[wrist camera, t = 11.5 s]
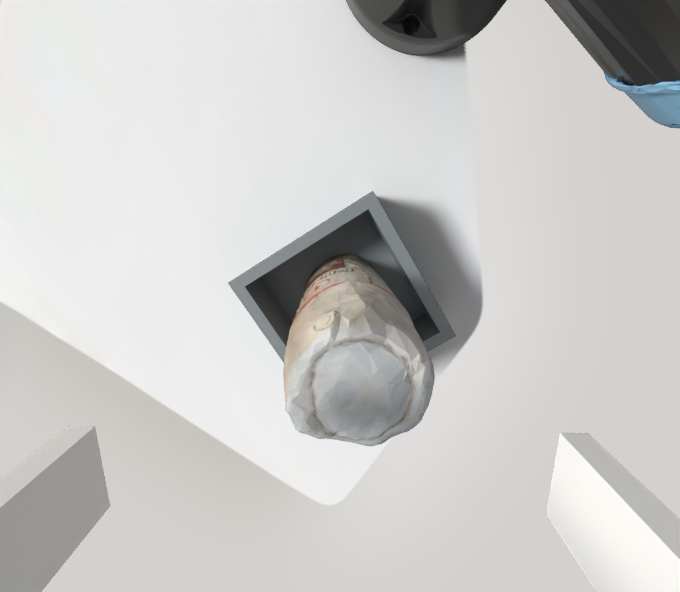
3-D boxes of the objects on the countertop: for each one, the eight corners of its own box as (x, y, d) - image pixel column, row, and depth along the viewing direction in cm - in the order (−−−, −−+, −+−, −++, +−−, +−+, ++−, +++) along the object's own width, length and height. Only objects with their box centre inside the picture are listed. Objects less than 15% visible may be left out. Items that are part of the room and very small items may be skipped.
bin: (367, 194, 34) (372, 190, 28) (437, 314, 37) (456, 336, 30) (248, 270, 36) (227, 282, 29) (322, 378, 38) (318, 411, 32)
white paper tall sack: (380, 243, 34) (425, 288, 14) (397, 323, 36) (458, 457, 16) (295, 264, 35) (229, 334, 15) (317, 341, 36) (283, 491, 17)
